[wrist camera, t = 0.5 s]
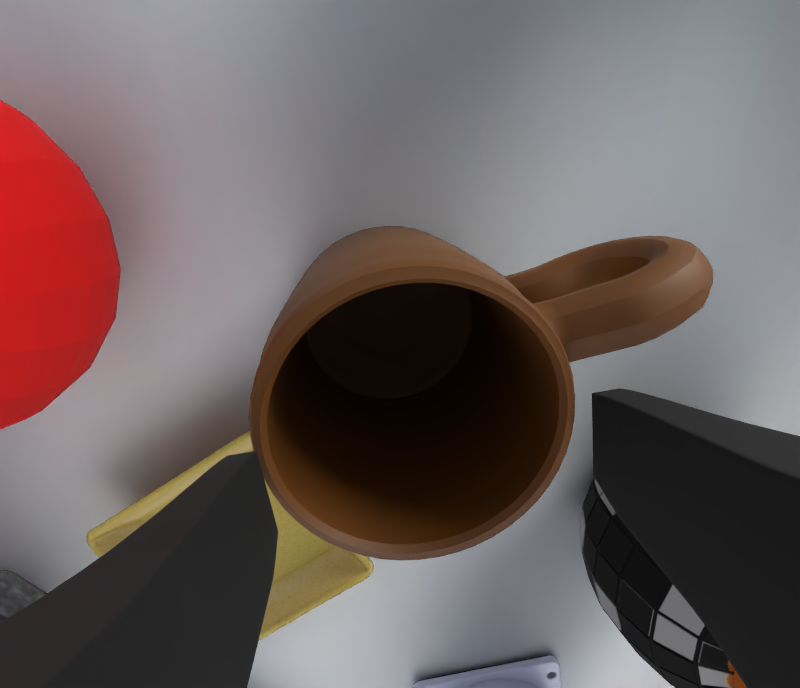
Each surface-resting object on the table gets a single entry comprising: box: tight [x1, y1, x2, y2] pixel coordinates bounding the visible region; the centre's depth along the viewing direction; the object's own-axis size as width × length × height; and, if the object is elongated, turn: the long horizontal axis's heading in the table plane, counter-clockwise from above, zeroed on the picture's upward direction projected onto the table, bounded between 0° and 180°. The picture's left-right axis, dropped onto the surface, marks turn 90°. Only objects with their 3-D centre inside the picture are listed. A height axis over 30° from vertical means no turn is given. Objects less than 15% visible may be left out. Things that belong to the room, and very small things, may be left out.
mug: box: [249, 226, 713, 560], centre depth 15 cm, size 12×8×9 cm, turn 114°
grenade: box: [580, 477, 747, 688], centre depth 16 cm, size 11×10×15 cm
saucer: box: [86, 431, 373, 641], centre depth 21 cm, size 9×9×2 cm
